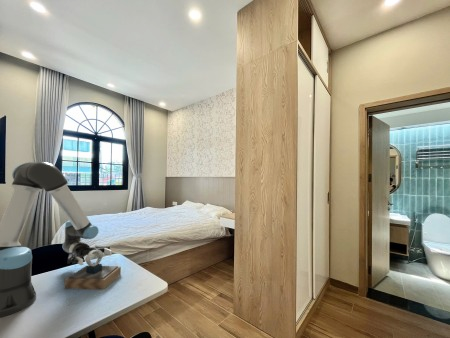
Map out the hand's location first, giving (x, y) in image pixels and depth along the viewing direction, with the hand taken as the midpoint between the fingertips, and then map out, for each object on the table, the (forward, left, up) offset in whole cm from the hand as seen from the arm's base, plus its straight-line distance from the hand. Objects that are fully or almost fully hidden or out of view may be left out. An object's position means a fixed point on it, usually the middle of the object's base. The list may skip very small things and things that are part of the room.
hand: (97, 257), depth 101 cm
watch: (-3, +1, -8) cm, 8 cm away
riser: (-3, +1, -13) cm, 13 cm away
